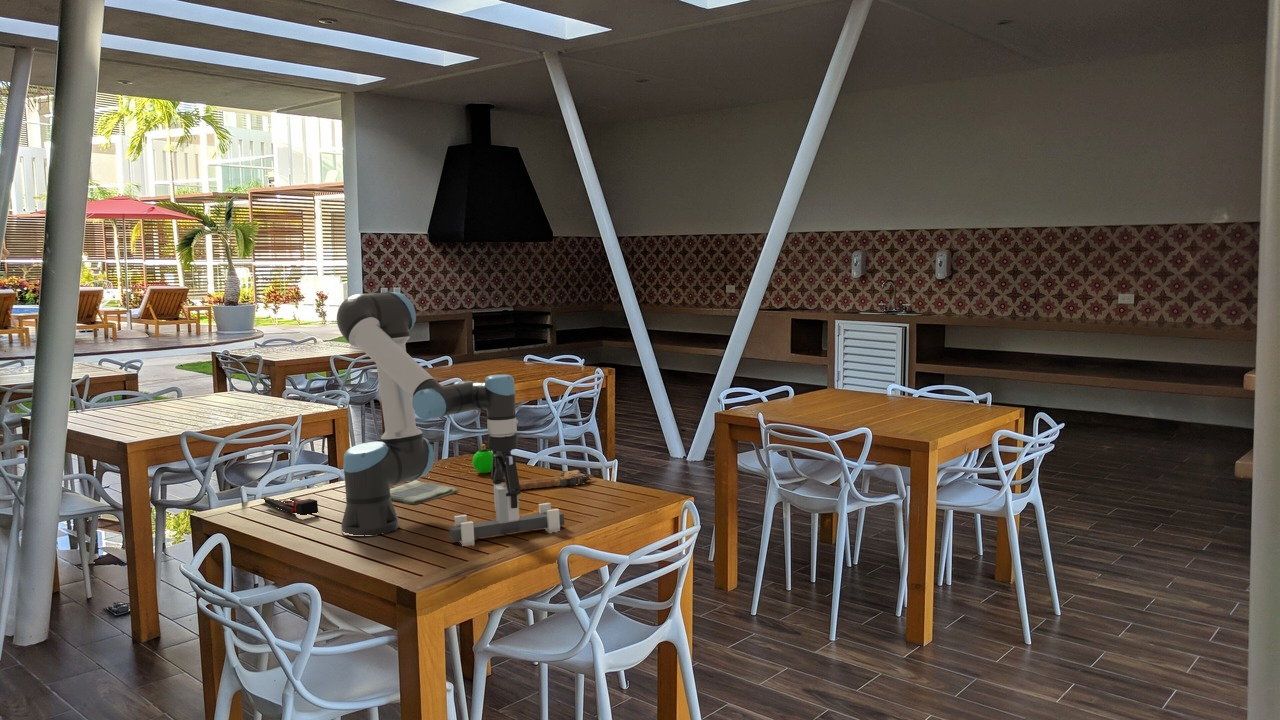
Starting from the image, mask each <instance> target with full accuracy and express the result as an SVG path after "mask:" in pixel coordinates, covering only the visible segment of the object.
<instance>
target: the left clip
mask: <svg viewBox="0 0 1280 720" xmlns="http://www.w3.org/2000/svg"><path fill="white" fill-rule="evenodd" d="M467 516H468V515H467V514H460V515H454V516H453V517H454V526H458V525H461V539H462V541H459V542H460V543H461V544H462V545H461V544H460V543H459V542H458V543H459V544H460V545H461V546H462V547H463V546H466V545H472V546H475V539H474V526H473V523H474V521H468V517H467ZM466 547H467V546H466Z"/></svg>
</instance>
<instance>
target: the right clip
mask: <svg viewBox="0 0 1280 720" xmlns="http://www.w3.org/2000/svg"><path fill="white" fill-rule="evenodd" d="M559 511H560V509H559V508H552V503H550V502H545V503H538V514H539V513H546V512H547V524H548V528H542V529H543V530H544V529H545V530H544V531H546V532H547V533H548V534H553V533H552V532H555V533H558V532H557V531H560V532H561V526H560V520H559Z"/></svg>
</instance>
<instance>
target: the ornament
mask: <svg viewBox="0 0 1280 720" xmlns="http://www.w3.org/2000/svg"><path fill="white" fill-rule="evenodd" d="M480 446H481V449H479V450H478V451H477V452H475V454H473V457H472V465H473V466H472V467H473V468H474V470H475V471H477V472H478V473H481V474H487V473H490V472H491V471H492V459H493V452H492V450H490V449H489V448H488V449H487V448H486V444H484V443H483V444H482V443H481V445H480Z"/></svg>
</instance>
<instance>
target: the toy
mask: <svg viewBox="0 0 1280 720" xmlns="http://www.w3.org/2000/svg"><path fill="white" fill-rule="evenodd" d="M261 499H264V500H265V502H264V503H265V504H267V505H269V506H271V507H273V506H274V508H275V507H277V508H279V509H278V510H280V509H282V510H281V511H283V510H285V511H287V512H286V513H288V512H289V513H288V514H292V513H297V514H300V515H307V514H312V513H317V512H318V513H319V506H318V505H319V504H318V500H316V499H313V498H307V499H302V500H300V499H296V498H293V497H288V498H287V500H286V499H283V500H284V501H283V502H281V501H278V500H274V499H275V498H270V497H267V496H264V497H260V500H261ZM288 499H290V500H292V501H294V502H292V501H288ZM284 502H285V503H284ZM277 508H276V509H277ZM285 511H284V512H285Z"/></svg>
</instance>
